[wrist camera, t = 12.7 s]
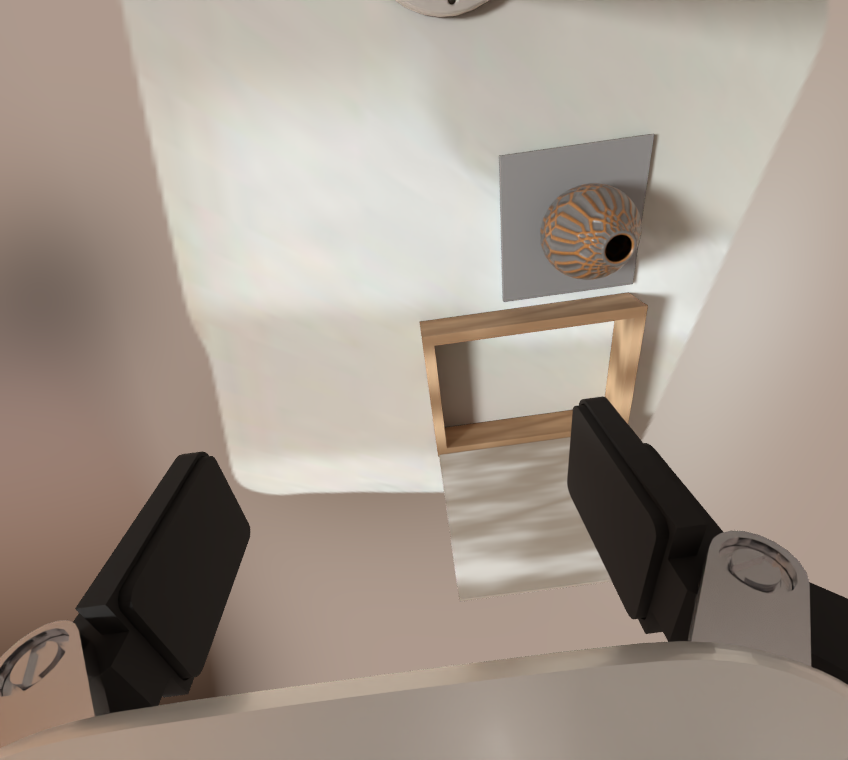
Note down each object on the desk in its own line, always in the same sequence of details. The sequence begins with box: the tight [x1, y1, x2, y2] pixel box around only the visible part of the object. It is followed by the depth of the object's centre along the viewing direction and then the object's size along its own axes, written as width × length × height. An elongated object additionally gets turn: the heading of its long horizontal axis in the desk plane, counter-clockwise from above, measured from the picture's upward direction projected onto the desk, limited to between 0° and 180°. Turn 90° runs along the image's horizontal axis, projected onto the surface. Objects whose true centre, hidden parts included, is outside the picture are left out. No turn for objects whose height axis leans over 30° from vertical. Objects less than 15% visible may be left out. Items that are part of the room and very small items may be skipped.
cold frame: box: [420, 293, 648, 601], centre depth 37 cm, size 19×20×17 cm
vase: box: [540, 183, 641, 280], centre depth 31 cm, size 7×7×9 cm
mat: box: [499, 134, 654, 302], centre depth 35 cm, size 12×12×1 cm
